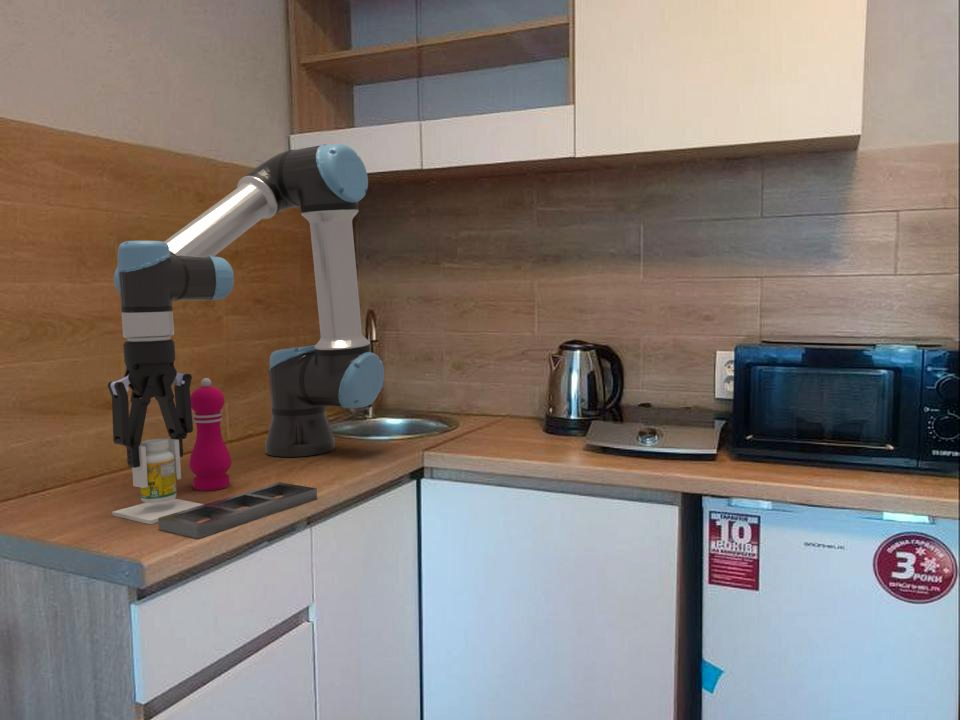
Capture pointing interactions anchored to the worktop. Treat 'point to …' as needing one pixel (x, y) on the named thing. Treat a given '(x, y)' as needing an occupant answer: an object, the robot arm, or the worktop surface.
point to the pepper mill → (209, 440)
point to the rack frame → (230, 516)
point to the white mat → (154, 510)
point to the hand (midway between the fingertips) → (157, 482)
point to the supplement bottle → (159, 472)
